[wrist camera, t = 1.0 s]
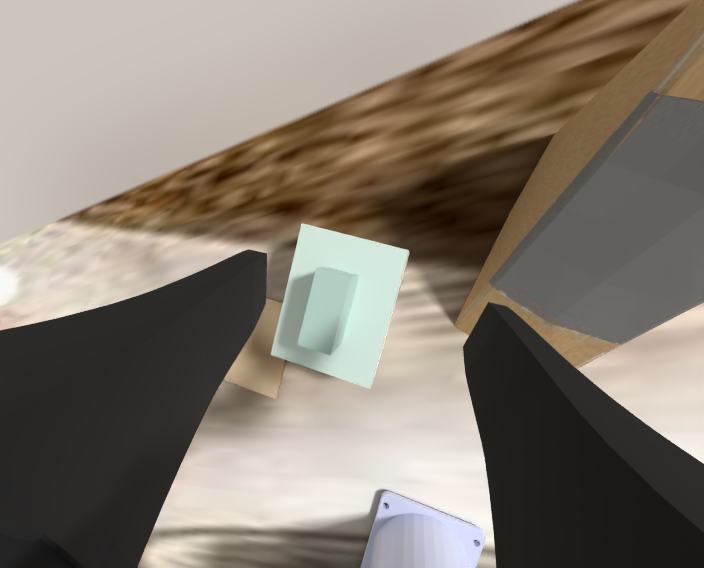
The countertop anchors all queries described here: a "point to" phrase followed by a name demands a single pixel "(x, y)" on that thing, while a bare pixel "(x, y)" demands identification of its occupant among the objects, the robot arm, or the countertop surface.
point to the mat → (260, 356)
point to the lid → (338, 303)
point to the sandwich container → (611, 209)
